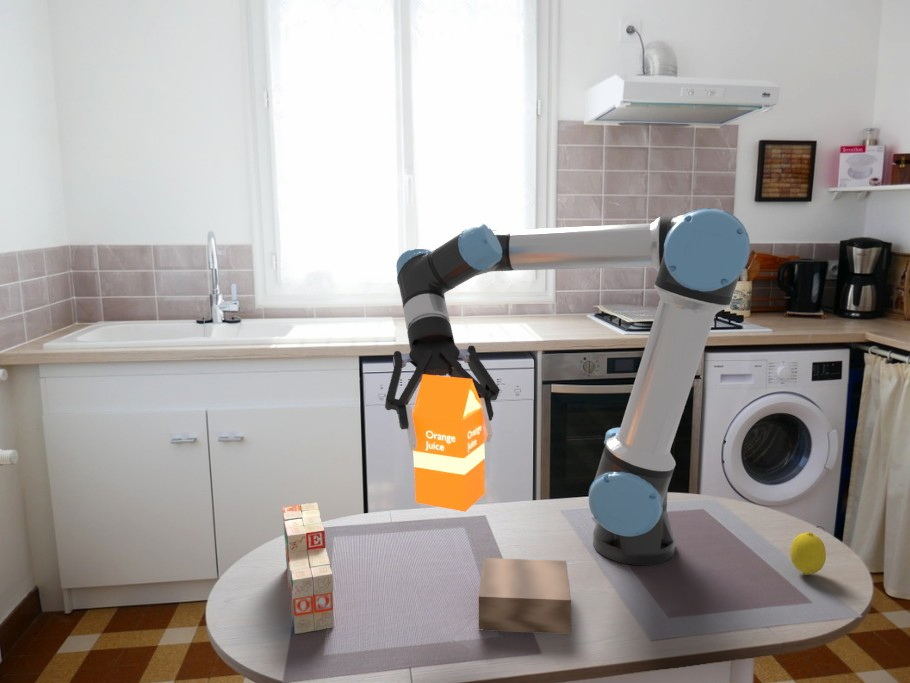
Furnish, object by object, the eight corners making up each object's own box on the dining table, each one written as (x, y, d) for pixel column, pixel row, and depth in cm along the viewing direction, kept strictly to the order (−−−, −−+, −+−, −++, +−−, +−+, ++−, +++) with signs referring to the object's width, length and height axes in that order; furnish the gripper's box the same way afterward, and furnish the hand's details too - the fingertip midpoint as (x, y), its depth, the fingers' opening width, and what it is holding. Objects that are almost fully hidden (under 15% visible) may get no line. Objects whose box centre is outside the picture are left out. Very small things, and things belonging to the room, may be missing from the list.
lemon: (822, 570, 124) (826, 528, 123) (824, 585, 119) (828, 542, 118) (788, 564, 127) (792, 522, 125) (788, 578, 122) (792, 536, 120)
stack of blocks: (335, 628, 109) (331, 555, 107) (294, 636, 107) (289, 562, 105) (320, 563, 129) (317, 500, 127) (286, 568, 128) (282, 505, 125)
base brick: (565, 593, 119) (566, 560, 117) (570, 635, 107) (571, 600, 106) (483, 590, 120) (482, 558, 119) (478, 632, 108) (478, 596, 107)
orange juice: (437, 484, 117) (433, 368, 114) (485, 493, 114) (483, 373, 110) (414, 502, 111) (409, 380, 107) (465, 512, 107) (462, 385, 103)
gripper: (490, 335, 125) (519, 445, 113) (359, 344, 120) (374, 461, 108) (498, 309, 119) (529, 423, 107) (360, 318, 114) (376, 438, 102)
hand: (451, 442), depth 107 cm, fingers closed on orange juice, 11 cm apart
